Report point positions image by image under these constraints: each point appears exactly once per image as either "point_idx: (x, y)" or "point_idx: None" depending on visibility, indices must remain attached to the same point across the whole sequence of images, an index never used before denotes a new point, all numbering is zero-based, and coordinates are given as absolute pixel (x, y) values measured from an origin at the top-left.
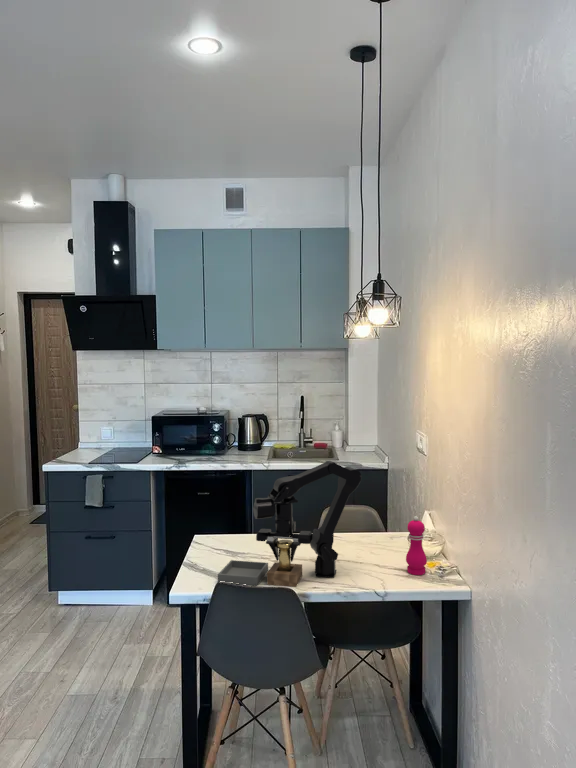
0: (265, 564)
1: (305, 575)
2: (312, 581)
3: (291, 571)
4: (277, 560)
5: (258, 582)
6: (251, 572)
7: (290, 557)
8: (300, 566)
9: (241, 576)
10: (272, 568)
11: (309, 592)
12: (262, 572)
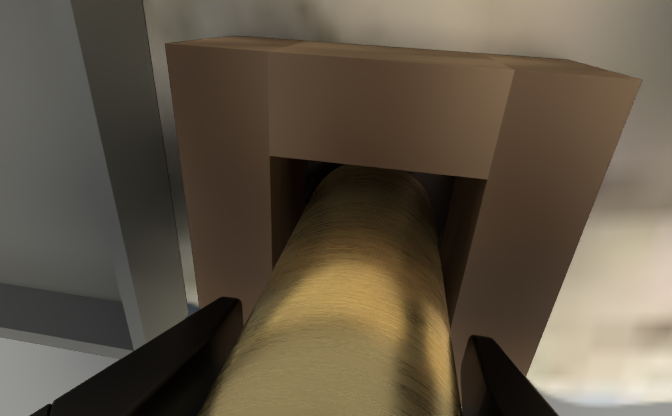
0: (60, 27)
1: (610, 44)
2: (668, 212)
3: (455, 334)
4: (236, 335)
5: (176, 293)
6: (13, 85)
7: (456, 376)
8: (594, 176)
9: (29, 340)
10: (216, 260)
11: (593, 404)
12: (133, 205)
